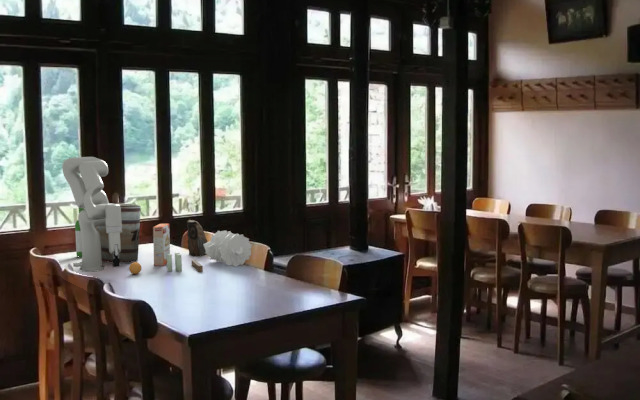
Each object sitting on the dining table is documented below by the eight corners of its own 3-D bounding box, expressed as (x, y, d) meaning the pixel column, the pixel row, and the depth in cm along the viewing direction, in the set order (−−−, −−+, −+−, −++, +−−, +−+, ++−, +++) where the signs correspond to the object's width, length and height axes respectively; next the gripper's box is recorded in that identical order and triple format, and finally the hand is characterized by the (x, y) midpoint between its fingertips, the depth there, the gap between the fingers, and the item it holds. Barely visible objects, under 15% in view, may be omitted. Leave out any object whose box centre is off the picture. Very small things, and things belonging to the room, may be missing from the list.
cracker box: (165, 266, 364) (163, 226, 362) (153, 266, 364) (152, 226, 362) (171, 260, 378) (169, 223, 376) (160, 261, 378) (158, 223, 376)
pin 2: (177, 271, 349) (177, 255, 348) (176, 270, 351) (176, 254, 350) (182, 271, 350) (181, 254, 349) (181, 270, 352) (180, 254, 351)
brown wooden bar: (198, 272, 348) (198, 266, 347) (191, 265, 364) (191, 260, 364) (202, 271, 348) (202, 265, 348) (195, 265, 365) (195, 259, 365)
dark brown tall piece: (200, 257, 388) (198, 222, 386) (180, 256, 392) (179, 221, 390) (211, 253, 400) (210, 219, 398) (192, 252, 404) (190, 218, 402)
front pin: (167, 271, 349) (167, 255, 349) (166, 270, 352) (166, 254, 351) (172, 271, 350) (171, 254, 349) (171, 270, 353) (171, 254, 352)
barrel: (146, 260, 382) (149, 206, 380) (113, 263, 363) (116, 207, 361) (119, 255, 394) (122, 203, 392) (86, 258, 375) (89, 203, 374)
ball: (130, 275, 341) (129, 263, 340) (128, 273, 346) (128, 261, 346) (142, 274, 343) (142, 262, 342) (140, 272, 349) (140, 260, 348)
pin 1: (175, 269, 353) (175, 253, 353) (174, 269, 356) (174, 252, 355) (180, 269, 354) (179, 253, 353) (179, 268, 357) (179, 252, 356)
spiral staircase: (224, 266, 380) (248, 271, 360) (197, 256, 370) (220, 261, 350) (235, 235, 384) (259, 238, 364) (209, 224, 374) (232, 227, 354)
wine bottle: (86, 258, 389) (83, 205, 386) (73, 257, 391) (71, 205, 388) (93, 255, 397) (91, 203, 394) (81, 255, 399) (78, 203, 395)
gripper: (104, 228, 344) (107, 265, 345) (107, 231, 330) (110, 269, 332) (120, 227, 347) (122, 263, 348) (123, 230, 333) (126, 267, 334)
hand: (116, 266), depth 340 cm, fingers closed
